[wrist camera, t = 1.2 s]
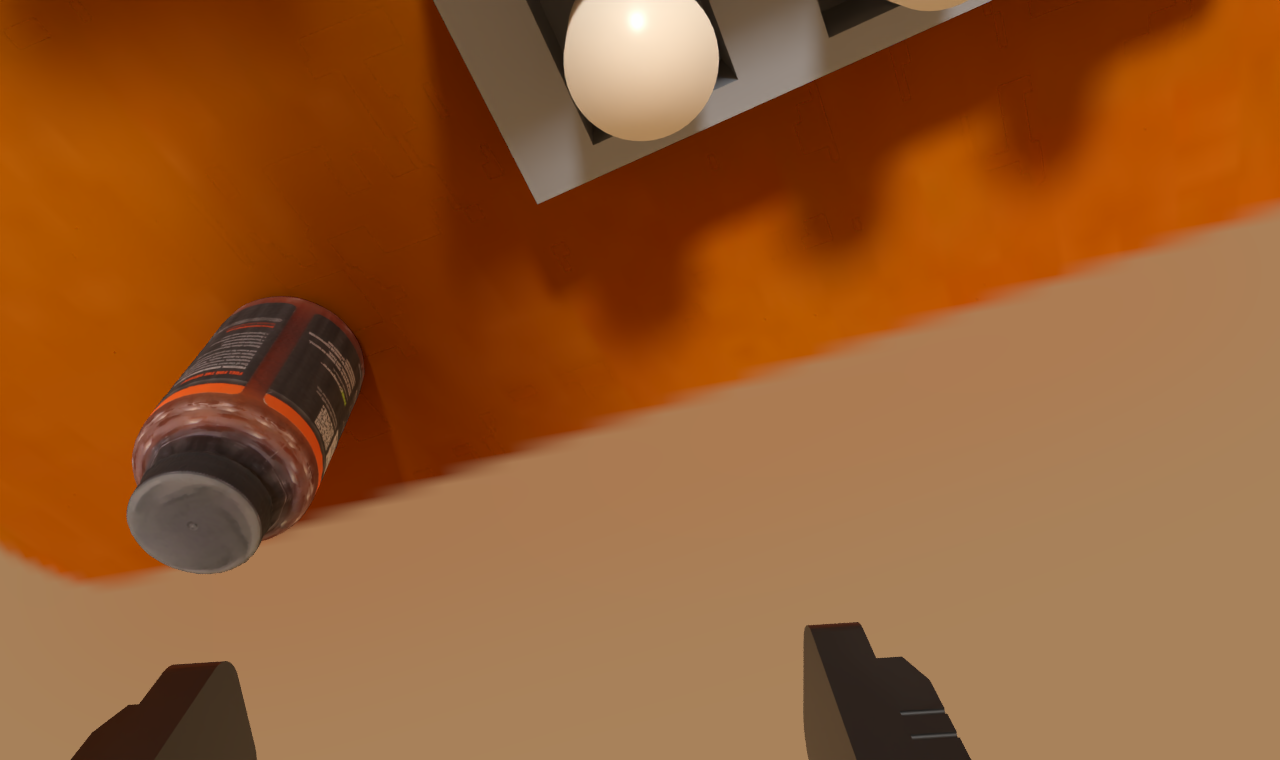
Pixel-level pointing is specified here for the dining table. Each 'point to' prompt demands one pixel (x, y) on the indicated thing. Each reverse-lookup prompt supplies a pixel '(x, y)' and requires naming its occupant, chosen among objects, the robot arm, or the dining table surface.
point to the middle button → (928, 4)
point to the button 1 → (640, 64)
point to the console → (747, 76)
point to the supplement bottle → (244, 435)
